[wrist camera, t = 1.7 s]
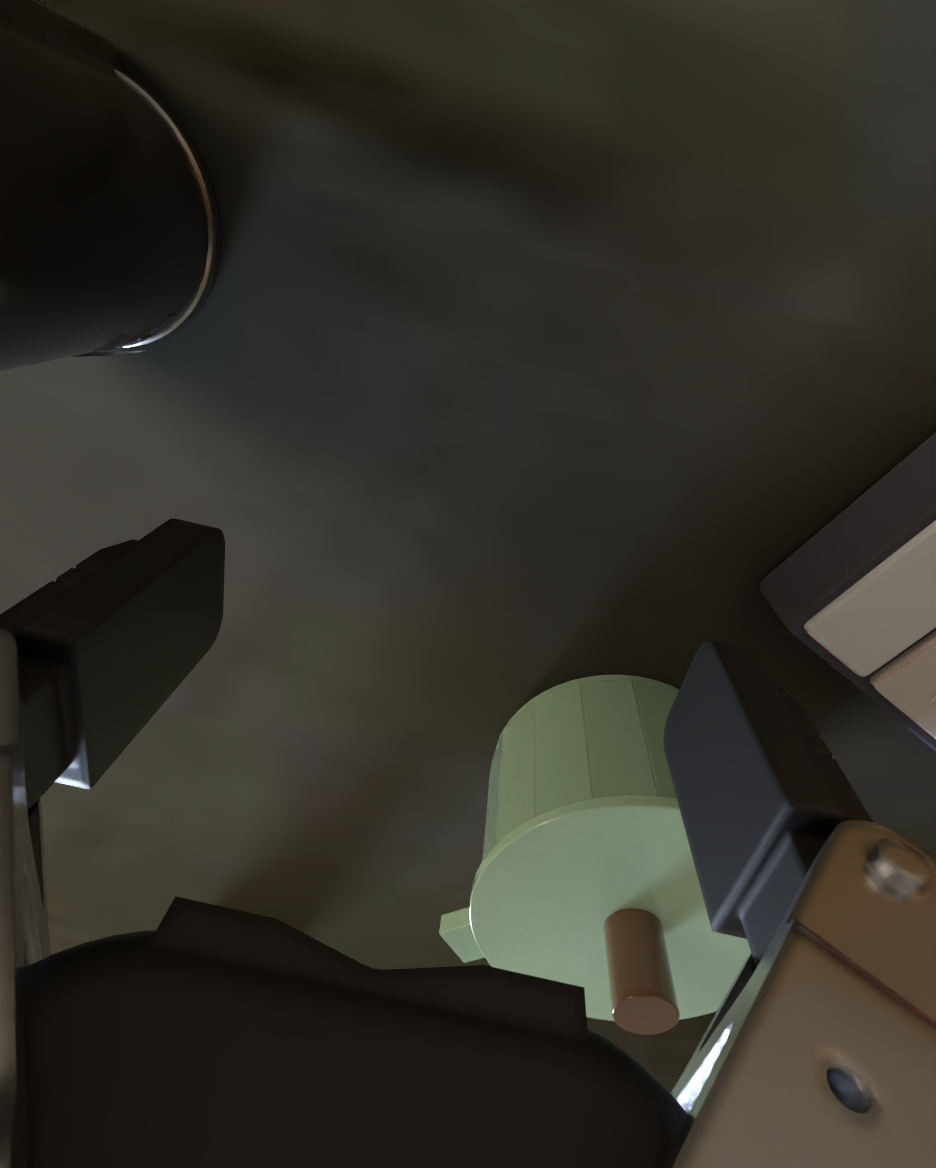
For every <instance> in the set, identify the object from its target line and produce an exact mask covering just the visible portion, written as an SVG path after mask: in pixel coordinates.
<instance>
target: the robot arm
mask: <svg viewBox="0 0 936 1168" xmlns="http://www.w3.org/2000/svg"><path fill="white" fill-rule="evenodd" d="M219 256H220V222H219V214H218V208H217V202H216V199H215V195H214V191H213V187H212V184H211V181H210V178H209V175H208V173H207V170H206V168H205V165H204V163H203V161H202V159H201V157H200V155H199V153H198V151H197V149H196V147H195V145H194V143H193V142H192V140H191V139H190V137H189V135H188V134H187V132H186V131H185V129H184V128H183V127H182V125H181V124H180V122H179V121H178V120H177V118H176V117H175V116H174V115H173V114H172V113H171V111H170V110H169V109H168V108H167V107H166V106H165V105H164V104H163V103H162V102H161V101H160V100H159V99H158V98H157V97H156V96H155V95H154V94H153V93H152V92H150V91H149V90H148V89H147V88H146V87H144V86H143V85H142V84H140V83H139V82H137V81H136V80H134V79H133V78H132V77H130V76H128V75H127V74H126V73H125V71H124V69H123V67H122V66H121V64H120V62H119V59H118V57H117V54H116V52H115V50H114V47H113V45H112V44H111V42H110V41H109V40H108V39H106V38H104V37H102V36H100V35H98V34H97V33H95V32H93V31H91V30H89V29H87V28H85V27H83V26H81V25H79V24H77V23H75V22H74V21H72V20H70V19H68V18H66V17H64V16H62V15H60V14H58V13H56V12H54V11H53V10H51V9H49V8H47V7H45V6H43V5H41V4H39V3H37V2H35V1H33V0H0V371H2V370H7V369H12V368H17V367H22V366H27V365H32V364H37V363H42V362H47V361H52V360H57V359H62V358H67V357H78V356H108V355H130V354H135V353H139V352H144V351H120V352H96V351H101V350H109V349H115V348H122V347H133V346H139V345H144V344H149V343H153V342H157V341H159V340H162V339H165V338H167V337H169V336H171V335H173V334H174V333H176V332H178V331H179V330H180V329H182V328H183V327H184V326H186V325H187V324H188V323H189V322H190V321H191V320H192V319H193V318H194V317H195V315H196V314H197V313H198V312H199V310H200V309H201V307H202V306H203V304H204V303H205V301H206V299H207V297H208V295H209V293H210V291H211V288H212V286H213V283H214V280H215V276H216V273H217V268H218V262H219ZM224 561H225V540H224V535H223V533H222V531H221V530H220V529H218V528H214V527H210V526H205V525H201V524H196V523H192V522H188V521H183V520H179V519H170V520H168V521H166V522H165V523H163V524H162V525H161V526H159V527H158V528H156V529H155V530H153V531H152V532H150V533H149V534H148V535H146V536H145V537H143V538H142V539H140V540H139V541H137V540H130V541H126V542H123V543H120V544H117V545H113V546H110V547H107V548H104V549H101V550H99V551H97V552H96V553H94V554H93V555H91V556H89V557H88V558H86V559H85V560H83V561H82V562H80V563H79V564H77V566H76V569H74V568H71V569H70V570H68V571H66V572H65V573H63V574H62V575H60V576H59V577H57V580H56V582H53V581H51V582H50V583H48V584H46V585H45V586H43V587H42V588H40V589H39V590H37V591H36V592H34V593H33V594H31V595H30V596H28V597H27V598H25V599H23V600H22V601H20V602H19V603H17V604H16V605H14V606H13V607H11V608H10V609H8V610H7V611H5V612H3V613H2V614H0V1168H936V859H935V858H934V857H933V856H932V855H931V854H929V853H928V852H927V851H925V850H924V849H923V848H922V847H920V846H919V845H917V844H916V843H914V842H913V841H911V840H910V839H908V838H906V837H905V836H903V835H901V834H899V833H897V832H895V831H893V830H891V829H889V828H887V827H884V826H881V825H879V824H876V823H873V821H872V819H871V818H870V816H869V814H868V813H867V811H866V809H865V808H864V806H863V804H862V803H861V801H860V800H859V798H858V796H857V795H856V793H855V791H854V790H853V788H852V786H851V785H850V783H849V781H848V780H847V778H846V777H845V775H844V773H843V772H842V770H841V768H840V767H839V765H838V763H837V762H836V760H834V759H832V758H831V757H832V753H831V752H830V750H829V749H828V747H827V745H826V744H825V742H824V740H823V739H819V736H820V734H819V732H818V730H817V729H816V727H815V726H814V724H813V722H812V721H811V719H810V717H809V716H808V714H807V712H806V711H805V710H804V709H803V708H802V707H801V706H800V705H799V704H798V703H797V702H796V701H794V700H793V699H792V698H791V697H790V696H789V695H788V694H787V693H786V692H785V691H784V690H783V689H782V688H780V687H776V686H775V685H774V684H773V682H772V680H771V678H770V677H769V675H768V673H767V671H766V669H765V668H764V666H763V664H762V662H761V661H760V659H759V657H758V656H757V654H756V653H755V652H754V651H751V650H747V649H742V648H738V647H733V646H729V645H724V644H720V643H716V642H711V641H706V642H704V643H703V644H701V646H700V647H699V648H698V650H697V652H696V654H695V656H694V658H693V660H692V663H691V665H690V667H689V669H688V672H687V674H686V676H685V678H684V681H683V683H682V685H681V687H680V689H679V692H678V694H677V696H676V698H675V701H674V703H673V705H672V707H671V710H670V712H669V714H668V717H667V720H666V725H665V730H664V752H665V756H666V760H667V763H668V767H669V771H670V775H671V778H672V782H673V786H674V790H675V793H676V797H677V801H678V805H679V809H680V812H681V816H682V820H683V824H684V827H685V831H686V835H687V839H688V842H689V846H690V850H691V854H692V857H693V861H694V865H695V869H696V873H697V876H698V880H699V884H700V888H701V891H702V895H703V899H704V903H705V906H706V910H707V914H708V918H709V921H710V925H711V929H712V931H713V932H718V933H722V934H727V935H731V936H736V937H740V938H745V939H747V941H748V944H749V947H750V950H751V954H750V955H749V957H748V958H747V960H746V961H745V963H744V964H743V966H742V967H741V969H740V970H739V972H738V974H737V976H736V978H735V979H734V981H733V983H732V985H731V987H730V989H729V990H728V992H727V994H726V996H725V998H724V1000H723V1001H722V1003H721V1005H720V1007H719V1009H718V1010H717V1012H716V1014H715V1016H714V1018H713V1020H712V1021H711V1023H710V1025H709V1027H708V1029H707V1030H706V1032H705V1034H704V1036H703V1038H702V1040H701V1041H700V1043H699V1045H698V1047H697V1049H696V1051H695V1052H694V1054H693V1056H692V1058H691V1060H690V1061H689V1063H688V1065H687V1067H686V1069H685V1070H684V1072H683V1074H682V1076H681V1077H680V1079H679V1081H678V1082H677V1084H676V1086H675V1087H674V1089H673V1091H672V1092H671V1093H670V1092H669V1090H668V1089H667V1088H666V1087H665V1086H664V1085H663V1084H662V1083H661V1082H660V1081H659V1080H658V1079H657V1078H656V1077H655V1076H654V1075H653V1074H652V1073H651V1072H650V1071H649V1070H648V1069H647V1068H646V1067H645V1066H643V1065H642V1064H641V1063H640V1062H639V1061H637V1060H636V1059H635V1058H634V1057H633V1056H631V1055H630V1054H629V1053H628V1052H627V1051H625V1050H624V1049H623V1048H622V1047H620V1046H619V1045H617V1044H616V1043H614V1042H613V1041H611V1040H610V1039H608V1038H607V1037H605V1036H604V1035H602V1034H601V1033H599V1032H597V1031H595V1030H594V1029H592V1028H590V1027H588V1026H587V1020H586V1005H585V990H584V987H580V986H575V985H571V984H566V983H562V982H557V981H553V980H548V979H544V978H539V977H535V976H530V975H526V974H521V973H517V972H512V971H508V970H503V969H499V968H494V967H490V966H485V965H479V966H457V967H436V968H414V969H392V970H379V969H374V968H370V967H368V966H365V965H363V964H361V963H359V962H357V961H355V960H353V959H352V958H350V957H348V956H346V955H344V954H342V953H340V952H338V951H336V950H334V949H333V948H331V947H329V946H327V945H325V944H323V943H321V942H319V941H317V940H315V939H314V938H312V937H310V936H308V935H306V934H304V933H302V932H300V931H298V930H296V929H295V928H293V927H291V926H289V925H287V924H285V923H283V922H281V921H279V920H277V919H274V918H270V917H265V916H261V915H256V914H252V913H247V912H243V911H238V910H234V909H229V908H225V907H220V906H216V905H211V904H207V903H202V902H198V901H193V900H189V899H184V898H180V897H175V899H174V900H173V902H172V904H171V906H170V907H169V909H168V911H167V913H166V914H165V916H164V918H163V920H162V921H161V923H160V925H159V927H158V928H157V930H156V931H140V932H133V933H126V934H120V935H114V936H110V937H106V938H102V939H98V940H94V941H90V942H86V943H83V944H80V945H77V946H75V947H72V948H69V949H66V950H64V951H61V952H58V953H55V954H53V955H51V951H50V941H49V929H48V913H47V895H46V877H45V859H44V841H43V823H42V810H41V803H40V797H41V796H42V795H43V794H44V793H45V792H46V791H47V790H48V789H49V787H50V786H51V785H52V784H53V783H54V782H58V783H63V784H67V785H72V786H76V787H81V788H85V789H91V788H92V787H93V786H94V784H95V783H96V782H97V781H98V780H99V778H100V777H101V776H102V775H103V774H104V773H105V771H106V770H107V769H108V768H109V767H110V766H111V764H112V763H113V762H114V761H115V760H116V758H117V757H118V756H119V755H120V754H121V753H122V751H123V750H124V749H125V748H126V747H127V746H128V744H129V743H130V742H131V741H132V740H133V738H134V737H135V736H136V735H137V734H138V733H139V731H140V730H141V729H142V728H143V727H144V726H145V724H146V723H147V722H148V721H149V720H150V719H151V717H152V716H153V715H154V714H155V713H156V711H157V710H158V709H159V708H160V707H161V706H162V704H163V703H164V702H165V701H166V700H167V699H168V697H169V696H170V695H171V694H172V693H173V691H174V690H175V689H176V688H177V687H178V686H179V684H180V683H181V682H182V681H183V680H184V679H185V677H186V676H187V675H188V674H189V673H190V672H191V670H192V669H193V668H194V667H195V666H196V664H197V663H198V662H199V661H200V660H201V659H202V657H203V656H204V655H205V654H206V653H207V652H208V650H209V649H210V648H211V646H212V645H213V643H214V641H215V639H216V637H217V635H218V632H219V629H220V626H221V622H222V616H223V597H224Z"/></svg>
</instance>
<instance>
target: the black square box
mask: <svg viewBox="0 0 936 1168" xmlns="http://www.w3.org/2000/svg"><path fill="white" fill-rule="evenodd" d="M759 589H760V591H761V593H762V594H763V596H764V597H765V598H766V600H767V601H768V603H769V604H770V605H771V607H772V608H773V610H774V611H775V612H776V614H777V615H778V617H779V618H780V619H781V621H782V622H783V624H784V625H785V626H786V628H787V629H788V630H789V631H790V632H791V633H792V634H793V635H794V636H795V637H796V638H798V639H799V640H800V641H801V642H803V643H804V644H805V645H806V646H807V647H809V648H810V649H811V650H812V651H814V652H815V653H816V654H817V655H818V656H820V657H821V658H822V659H823V660H825V661H826V662H827V663H828V664H830V665H831V666H832V667H833V668H834V669H836V670H837V671H838V672H839V673H841V674H842V675H843V676H844V677H845V678H847V679H848V680H849V681H850V682H852V683H853V684H854V685H855V686H856V687H858V688H859V689H860V690H861V691H863V692H864V693H865V694H866V695H867V696H869V697H870V698H871V699H872V700H874V701H875V702H876V703H877V704H878V705H880V706H881V707H882V708H883V709H885V710H886V711H887V712H888V713H889V714H891V715H892V716H893V717H894V718H896V719H897V720H898V721H899V722H900V723H902V724H903V725H904V726H905V727H907V728H908V729H909V730H910V731H912V732H913V733H914V734H915V735H916V736H918V737H919V738H920V739H921V740H923V741H924V742H925V743H926V744H927V745H929V746H930V747H931V748H932V749H934V750H935V751H936V433H934V434H933V435H932V436H931V437H930V438H928V439H927V440H926V441H925V442H924V443H923V444H921V445H920V446H919V447H918V448H917V449H916V450H914V451H913V452H912V453H911V454H910V455H908V456H907V457H906V458H905V459H904V460H903V461H901V462H900V463H899V464H898V465H897V466H896V467H894V468H893V469H892V470H891V471H890V472H888V473H887V474H886V475H885V476H884V477H883V478H881V479H880V480H879V481H878V482H877V483H875V484H874V485H873V486H872V487H871V488H870V489H868V490H867V491H866V492H865V493H864V494H863V495H861V496H860V497H859V498H858V499H857V500H855V501H854V502H853V503H852V504H851V505H850V506H848V507H847V508H846V509H845V510H844V511H843V512H841V513H840V514H839V515H838V516H837V517H835V518H834V519H833V520H832V521H831V522H830V523H828V524H827V525H826V526H825V527H824V528H822V529H821V530H820V531H819V532H818V533H817V534H815V535H814V536H813V537H812V538H811V539H810V540H808V541H807V542H806V543H805V544H804V545H802V546H801V547H800V548H799V549H798V550H797V551H795V552H794V553H793V554H792V555H791V556H790V557H788V558H787V559H786V560H785V561H784V562H782V563H781V564H780V565H779V566H778V567H777V568H775V569H774V570H773V571H772V572H771V573H769V574H768V575H767V576H766V577H765V578H764V579H763V580H762V581H761V582H760V585H759Z"/></svg>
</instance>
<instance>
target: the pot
mask: <svg viewBox="0 0 936 1168" xmlns="http://www.w3.org/2000/svg"><path fill="white" fill-rule="evenodd" d="M678 692H679V689H677V688H675V687H673V686H671V685H669V684H666V683H663V682H660V681H657V680H653V679H649V678H644V677H639V676H631V675H597V676H588V677H584V678H579V679H575V680H571V681H568V682H565V683H562V684H559V685H556V686H554V687H552V688H550V689H548V690H546V691H544V692H542V693H540V694H539V695H537V696H536V697H534V698H533V699H531V700H530V701H528V702H527V703H526V704H525V705H524V706H522V707H521V708H520V709H519V710H518V711H517V712H516V713H515V714H514V716H513V717H512V718H511V719H510V720H509V722H508V723H507V725H506V726H505V728H504V729H503V731H502V733H501V735H500V737H499V739H498V742H497V745H496V749H495V753H494V758H493V760H492V763H491V771H490V782H489V794H488V805H487V817H486V828H485V840H484V851H483V860H484V858H485V857H486V856H487V854H488V853H489V852H490V850H491V849H492V848H493V847H494V846H495V845H496V844H497V843H498V842H499V841H500V840H501V839H502V838H503V837H504V836H505V835H507V834H508V833H509V832H511V831H512V830H513V829H515V828H516V827H518V826H519V825H520V824H522V823H524V822H526V821H528V820H529V819H531V818H533V817H535V816H537V815H539V814H541V813H544V812H546V811H549V810H551V809H554V808H556V807H559V806H562V805H566V804H569V803H573V802H576V801H580V800H586V799H591V798H597V797H602V796H615V795H655V796H664V797H673V798H677V797H676V793H675V790H674V786H673V782H672V778H671V775H670V771H669V767H668V763H667V760H666V756H665V752H664V730H665V725H666V720H667V717H668V714H669V712H670V710H671V707H672V705H673V703H674V701H675V698H676V696H677V694H678ZM469 909H470V907H467V908H464V909H461V910H457V911H454V912H451V913H447V914H444V915H442V916H441V923H440V930H439V934H440V936H441V937H442V938H443V939H444V940H445V941H446V942H447V944H448V945H449V946H450V947H451V948H452V949H453V951H454V952H455V953H456V954H457V955H458V956H459V957H460V959H461V960H462V961H463V962H464V963H466V962H470V961H474V960H477V959H481V958H485V957H484V955H483V954H482V953H481V951H480V949H479V947H478V945H477V943H476V941H475V938H474V935H473V932H472V928H471V924H470V914H469Z"/></svg>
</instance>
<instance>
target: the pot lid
mask: <svg viewBox="0 0 936 1168" xmlns="http://www.w3.org/2000/svg"><path fill="white" fill-rule="evenodd" d="M469 914H470V924H471V928H472V932H473V935H474V938H475V941H476V943H477V945H478V947H479V949H480V951H481V953H482V954H483V955H484V957H485V958H486V959H487V961H488V962H489V964H490V965H491V966H492V967H494V968H499V969H503V970H508V971H512V972H517V973H521V974H526V975H530V976H535V977H539V978H544V979H548V980H553V981H557V982H562V983H566V984H571V985H575V986H580V987H584V990H585V1005H586V1017H591V1018H595V1019H602V1020H609V1021H615V1022H616V1023H617V1024H618V1025H619V1026H620V1027H621V1028H623V1029H625V1030H627V1031H629V1032H632V1033H637V1034H645V1035H651V1034H658V1033H662V1032H665V1031H668V1030H670V1029H671V1028H673V1027H674V1026H675V1025H676V1024H677V1022H678V1020H681V1019H686V1018H692V1017H697V1016H701V1015H704V1014H708V1013H712V1012H715V1011H717V1010H718V1009H719V1007H720V1005H721V1003H722V1001H723V1000H724V998H725V996H726V994H727V992H728V990H729V989H730V987H731V985H732V983H733V981H734V979H735V978H736V976H737V974H738V972H739V970H740V969H741V967H742V966H743V964H744V963H745V961H746V960H747V958H748V957H749V955H750V954H751V950H750V947H749V944H748V941H747V939H745V938H740V937H736V936H731V935H727V934H722V933H718V932H713V931H712V929H711V925H710V921H709V918H708V914H707V910H706V906H705V903H704V899H703V895H702V891H701V888H700V884H699V880H698V876H697V873H696V869H695V865H694V861H693V857H692V854H691V850H690V846H689V842H688V839H687V835H686V831H685V827H684V824H683V820H682V816H681V812H680V809H679V805H678V801H677V798H673V797H664V796H655V795H615V796H602V797H597V798H591V799H586V800H580V801H576V802H573V803H569V804H566V805H562V806H559V807H556V808H554V809H551V810H549V811H546V812H544V813H541V814H539V815H537V816H535V817H533V818H531V819H529V820H528V821H526V822H524V823H522V824H520V825H519V826H518V827H516V828H515V829H513V830H512V831H511V832H509V833H508V834H507V835H505V836H504V837H503V838H502V839H501V840H500V841H499V842H498V843H497V844H496V845H495V846H494V847H493V848H492V849H491V850H490V852H489V853H488V854H487V856H486V857H485V858H484V860H483V861H482V863H481V865H480V867H479V869H478V871H477V873H476V875H475V878H474V882H473V885H472V888H471V898H470V909H469Z"/></svg>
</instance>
